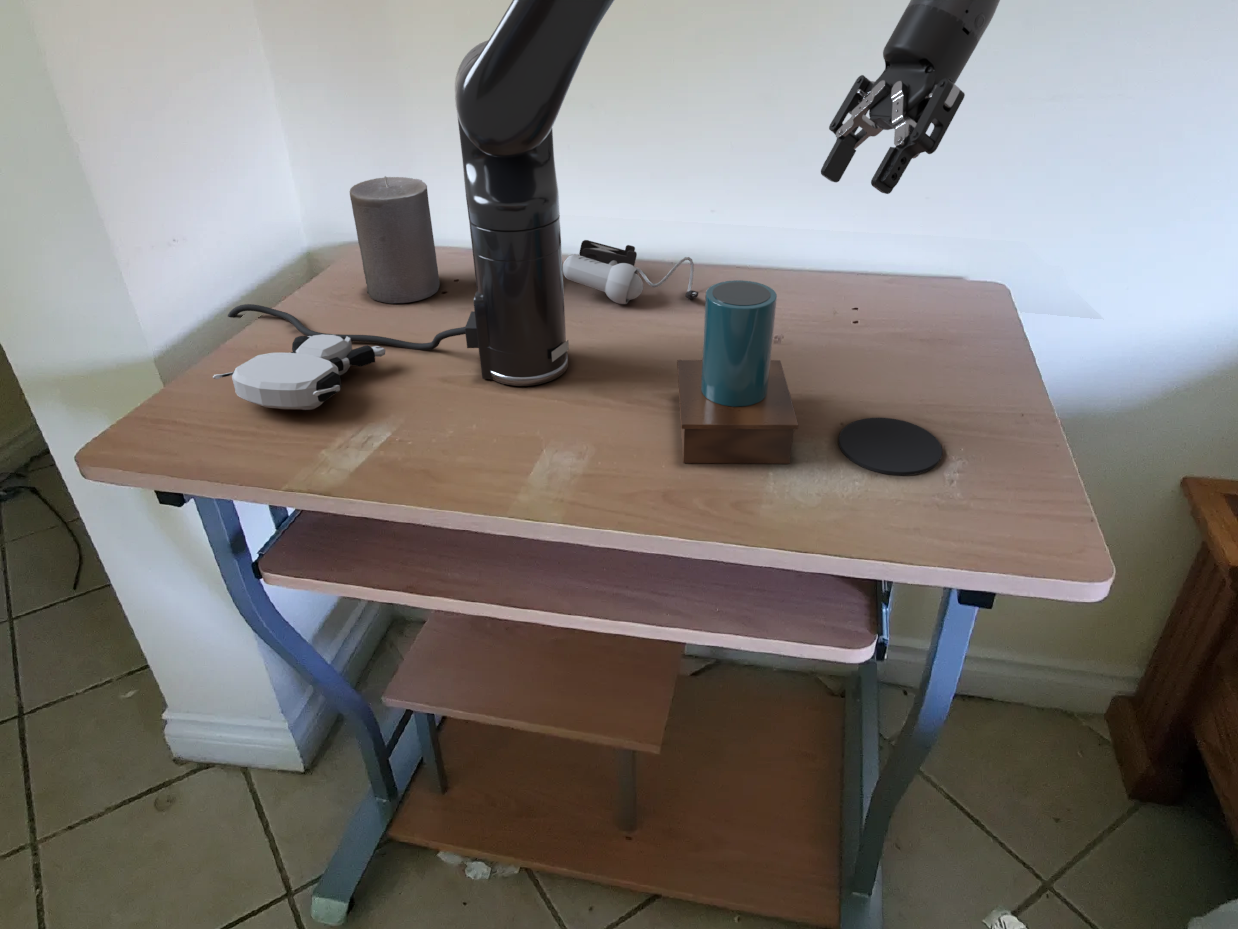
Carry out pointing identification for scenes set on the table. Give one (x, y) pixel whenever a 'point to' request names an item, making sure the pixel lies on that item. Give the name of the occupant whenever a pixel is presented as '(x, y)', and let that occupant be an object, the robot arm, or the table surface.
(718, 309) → the tumbler
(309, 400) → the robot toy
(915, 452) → the coaster
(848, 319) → the table surface
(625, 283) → the clip-on lamp
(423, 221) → the pillar candle
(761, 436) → the riser
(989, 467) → the table surface
